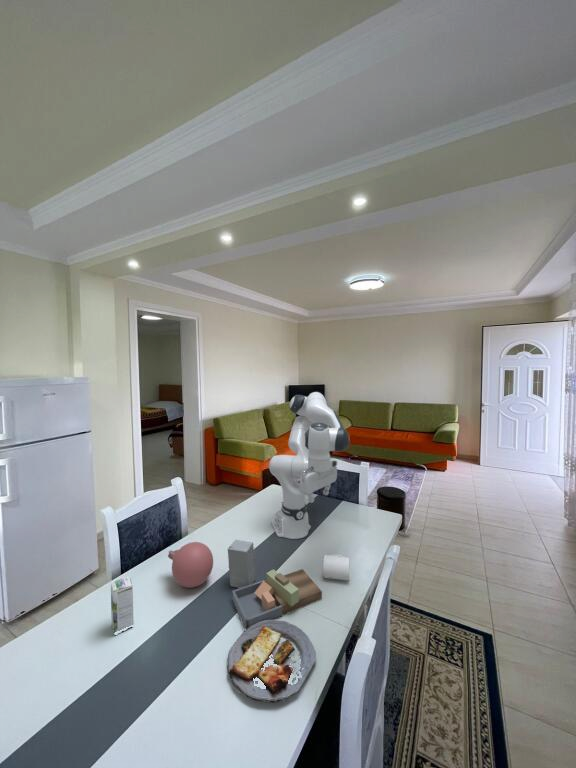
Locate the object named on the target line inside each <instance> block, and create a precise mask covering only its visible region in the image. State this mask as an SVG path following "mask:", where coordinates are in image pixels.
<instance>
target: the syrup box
mask: <svg viewBox="0 0 576 768" xmlns="http://www.w3.org/2000/svg"><path fill="white" fill-rule="evenodd" d="M132 582H133V581H132V579H131V577H130V576H124V577H122V578H118V579H117V580H114V581H112V582H110V609H111V611H110V613H111V627H112V626H113V629H112V631H113V630H114V633H115V632H117V631H120V630H122V629H124V628H126V627H129V626H131V625H133V624H134V623H135V622H134V590H133V586H134V585H133V583H132ZM114 633H113V634H114Z"/></svg>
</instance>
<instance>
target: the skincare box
mask: <svg viewBox="0 0 576 768" xmlns="http://www.w3.org/2000/svg"><path fill="white" fill-rule="evenodd" d="M227 559H228V571H229V573H228V574H229V586H230V587H233V588H236V589H239V588H242V587H245V586H248V585H251V584H254V583H255V581H256V577H257V576H256V563H255V547H254V542H253V541H245V540H241V539H234V541H233V542H232V543H231V544H230V545H229V547H227Z"/></svg>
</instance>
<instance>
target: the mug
mask: <svg viewBox="0 0 576 768" xmlns="http://www.w3.org/2000/svg"><path fill="white" fill-rule="evenodd" d="M322 565H323V566H322V576H323V578H326V579H332V580H339V581H340V580H341V581H346V582H347V581H350V557H349V556H348V557H346V556H344V555H342V554H338V553H337V554H332V555H330V554H324V556H323V562H322Z"/></svg>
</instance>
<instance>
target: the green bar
mask: <svg viewBox="0 0 576 768" xmlns="http://www.w3.org/2000/svg"><path fill="white" fill-rule="evenodd" d="M284 575H285V574H282V573H281V572H277V570H275V569H271V570H270V571H268V572H266V573H265V581H266V583H267V584H268V585H269V586H271V587H272V588H273V590H274V591H275V593H276V594H277V595H278V596H280V597H281V598H282V599H283V600H284V601H285V602H287V603H288V604H289V605H290V606H293V605H294V604H296V603H297V602H299V589H298V588H297V587H296V586H294V585H293V584H292V583H290V582H289V579H287V578H286V577H285V576H284Z"/></svg>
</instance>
